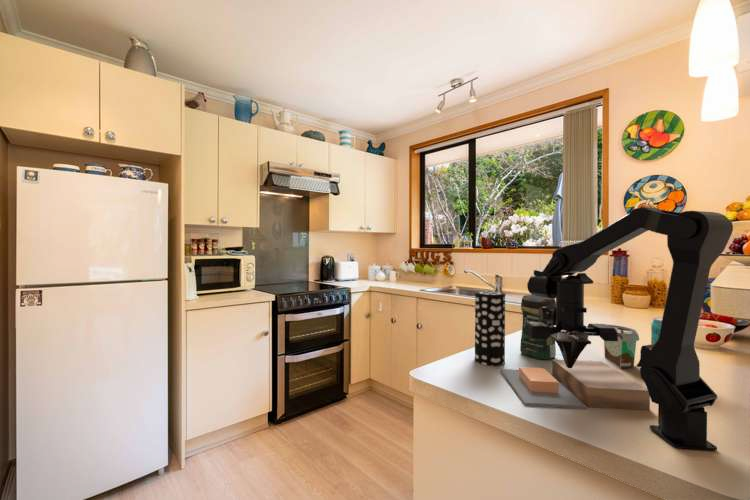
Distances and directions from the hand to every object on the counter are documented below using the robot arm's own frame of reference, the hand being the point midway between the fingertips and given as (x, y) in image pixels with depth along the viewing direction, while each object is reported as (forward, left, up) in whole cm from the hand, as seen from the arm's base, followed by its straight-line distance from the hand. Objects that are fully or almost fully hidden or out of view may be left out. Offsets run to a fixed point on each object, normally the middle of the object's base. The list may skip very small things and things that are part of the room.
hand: (569, 367), depth 80 cm
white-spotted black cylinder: (+18, +14, -5) cm, 23 cm away
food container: (+20, -24, -5) cm, 32 cm away
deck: (0, -6, -5) cm, 8 cm away
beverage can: (+10, -28, -5) cm, 30 cm away
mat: (0, +7, -5) cm, 9 cm away
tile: (0, +7, -3) cm, 8 cm away
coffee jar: (+25, -2, -5) cm, 26 cm away
